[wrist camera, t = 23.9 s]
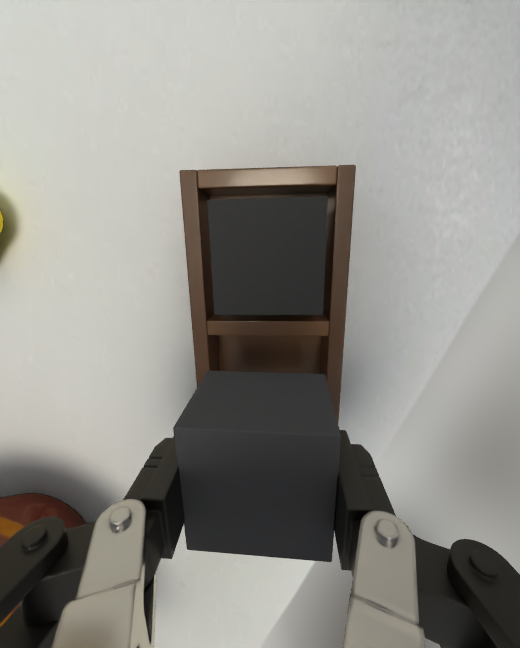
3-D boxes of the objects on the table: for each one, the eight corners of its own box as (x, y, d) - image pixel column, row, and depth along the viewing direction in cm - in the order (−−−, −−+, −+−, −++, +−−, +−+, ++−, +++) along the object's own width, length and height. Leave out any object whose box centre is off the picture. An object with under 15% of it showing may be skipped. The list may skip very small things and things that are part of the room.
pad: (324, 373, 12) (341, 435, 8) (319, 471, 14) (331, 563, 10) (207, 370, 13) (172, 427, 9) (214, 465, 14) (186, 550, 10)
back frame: (342, 177, 16) (356, 164, 13) (328, 422, 20) (336, 453, 17) (196, 182, 16) (179, 169, 13) (213, 418, 20) (201, 448, 18)
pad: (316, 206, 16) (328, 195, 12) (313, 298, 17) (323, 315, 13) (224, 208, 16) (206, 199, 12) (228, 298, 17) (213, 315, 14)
